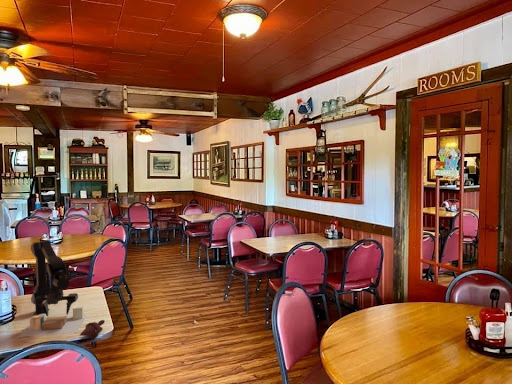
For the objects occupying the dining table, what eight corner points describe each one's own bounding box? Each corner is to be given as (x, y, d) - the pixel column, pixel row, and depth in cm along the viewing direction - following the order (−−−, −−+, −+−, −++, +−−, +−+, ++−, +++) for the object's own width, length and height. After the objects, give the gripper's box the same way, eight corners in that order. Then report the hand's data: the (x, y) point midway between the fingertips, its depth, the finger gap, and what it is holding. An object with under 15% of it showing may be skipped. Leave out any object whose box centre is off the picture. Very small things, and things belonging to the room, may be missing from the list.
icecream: (88, 330, 174) (110, 321, 188) (75, 324, 176) (99, 315, 190) (84, 345, 174) (107, 334, 188) (72, 338, 176) (95, 328, 191)
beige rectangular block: (73, 316, 205) (73, 305, 204) (82, 315, 206) (82, 304, 206) (73, 319, 201) (72, 308, 200) (82, 318, 202) (82, 307, 202)
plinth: (47, 323, 196) (47, 317, 196) (66, 322, 198) (66, 316, 198) (41, 331, 188) (41, 324, 187) (61, 329, 189) (61, 323, 189)
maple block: (44, 324, 194) (33, 325, 193) (44, 315, 194) (33, 316, 193) (41, 329, 189) (30, 329, 188) (40, 319, 189) (29, 320, 188)
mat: (34, 319, 202) (34, 318, 202) (87, 315, 207) (87, 314, 207) (18, 337, 180) (18, 336, 180) (77, 333, 186) (77, 332, 186)
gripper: (29, 291, 182) (31, 323, 183) (72, 289, 186) (73, 320, 187) (38, 284, 193) (39, 314, 194) (77, 282, 197) (78, 311, 198)
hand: (57, 315), depth 193 cm, fingers open, 9 cm apart
